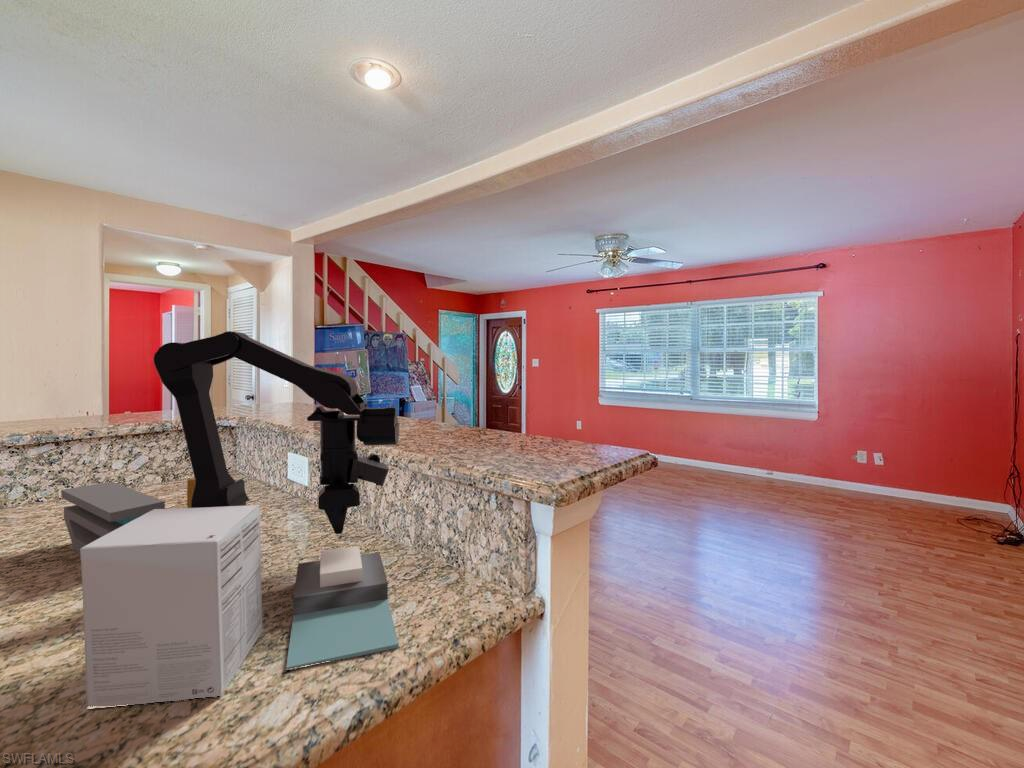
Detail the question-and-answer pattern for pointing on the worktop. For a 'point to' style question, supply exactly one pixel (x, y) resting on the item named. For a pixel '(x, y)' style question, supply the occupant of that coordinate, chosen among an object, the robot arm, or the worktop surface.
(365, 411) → the robot arm
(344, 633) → the mat
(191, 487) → the supplement box
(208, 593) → the supplement box
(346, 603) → the plate
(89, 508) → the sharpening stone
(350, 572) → the tile
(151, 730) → the worktop surface
